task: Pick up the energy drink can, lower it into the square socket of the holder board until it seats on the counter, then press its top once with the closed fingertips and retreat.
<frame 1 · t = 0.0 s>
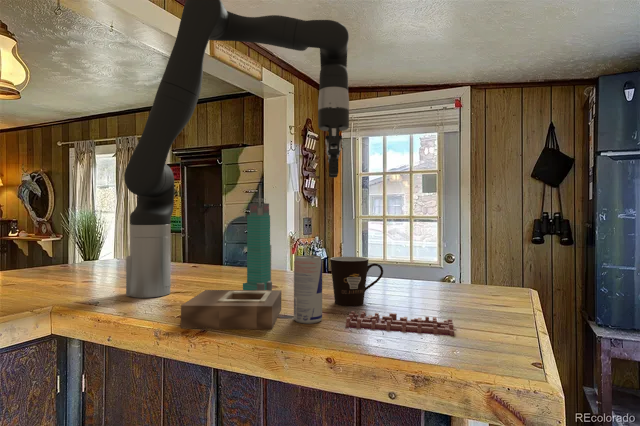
hand: (333, 175, 97), 29 cm above the countertop, fingers open, 8 cm apart
coffee mug: (355, 304, 89), on the countertop
building: (259, 296, 98), on the countertop
chocolate bar: (400, 329, 72), on the countertop
energy drink: (308, 321, 75), on the countertop
holder board: (235, 318, 77), on the countertop
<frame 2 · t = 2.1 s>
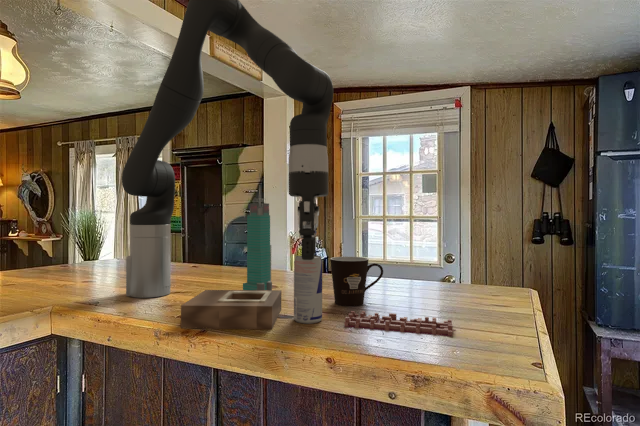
hand: (309, 256, 75), 12 cm above the countertop, fingers open, 8 cm apart
nothing on the countertop moved.
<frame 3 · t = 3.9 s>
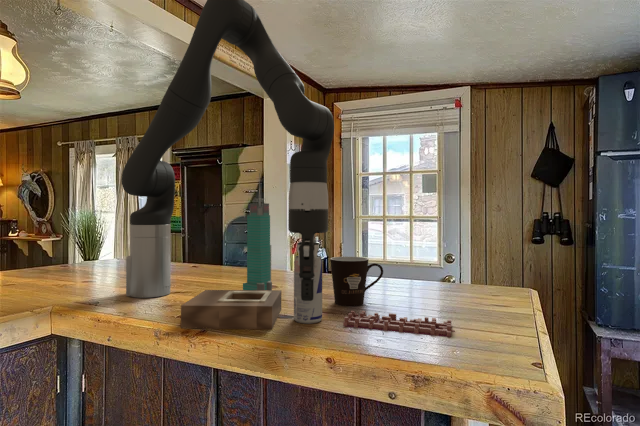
hand: (308, 296, 75), 4 cm above the countertop, fingers closed on energy drink, 5 cm apart
energy drink: (308, 321, 75), on the countertop, touching gripper
everything else where it was.
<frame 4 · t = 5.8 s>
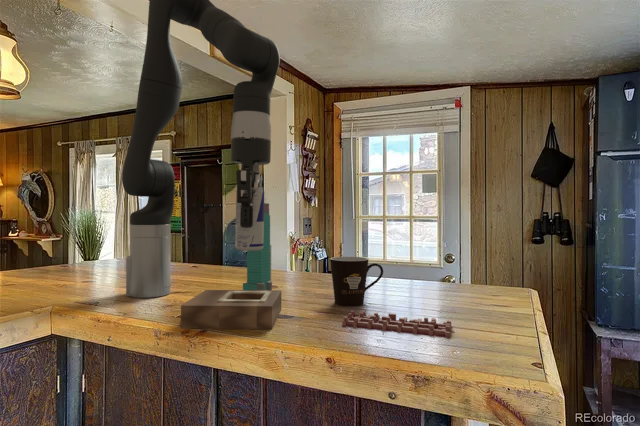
hand: (249, 226, 77), 18 cm above the countertop, fingers closed on energy drink, 5 cm apart
energy drink: (249, 250, 77), point 13 cm above the countertop, touching gripper
everything else where it was.
when the fingers open (5 cm above the countertop, at t = 8.2 s): energy drink stays where it is, resting in holder board.
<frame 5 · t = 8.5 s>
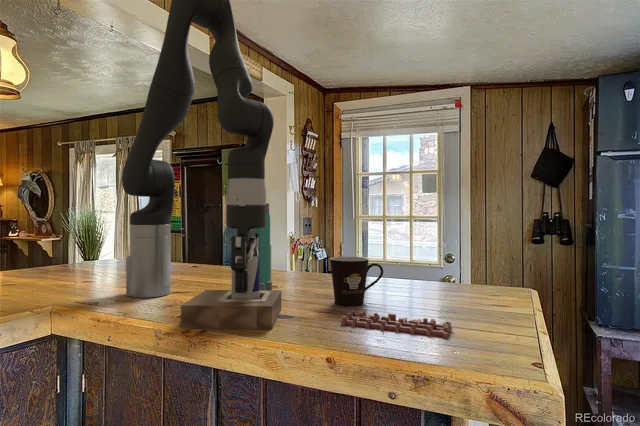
hand: (246, 288, 77), 6 cm above the countertop, fingers open, 7 cm apart
energy drink: (245, 319, 77), resting in holder board
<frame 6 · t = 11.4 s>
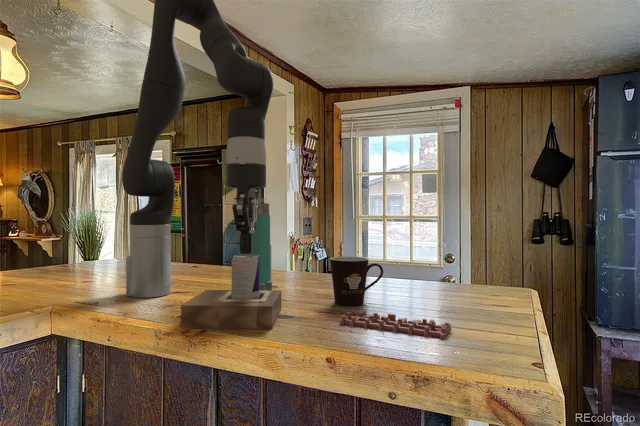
hand: (246, 253, 77), 12 cm above the countertop, fingers closed
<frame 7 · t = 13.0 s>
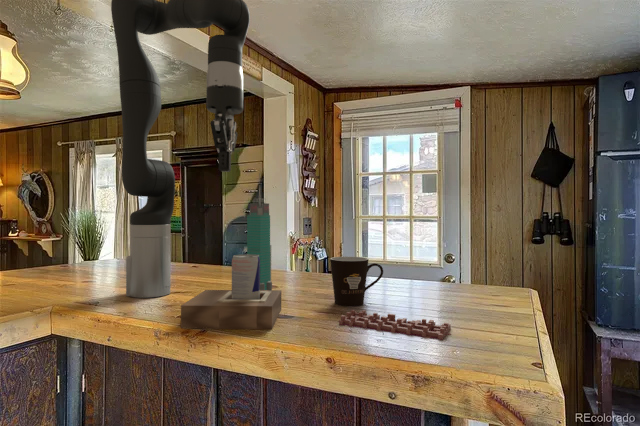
hand: (224, 171, 84), 29 cm above the countertop, fingers closed
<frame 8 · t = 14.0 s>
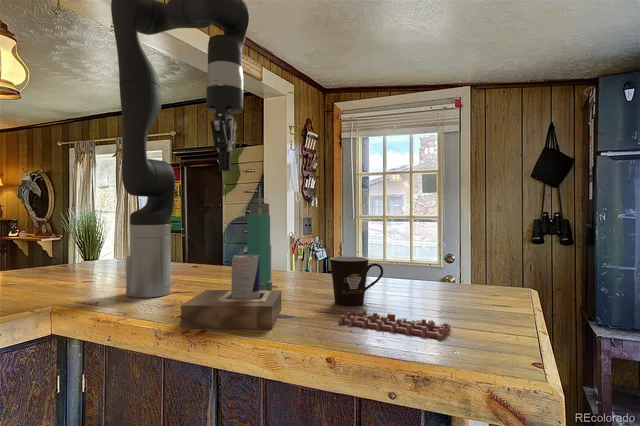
hand: (224, 171, 84), 29 cm above the countertop, fingers closed
at the end: energy drink 0.1 cm from the target spot on the holder board, point 0.0 cm above the holder board's base; energy drink tilted 0°; the gripper is holding nothing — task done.
